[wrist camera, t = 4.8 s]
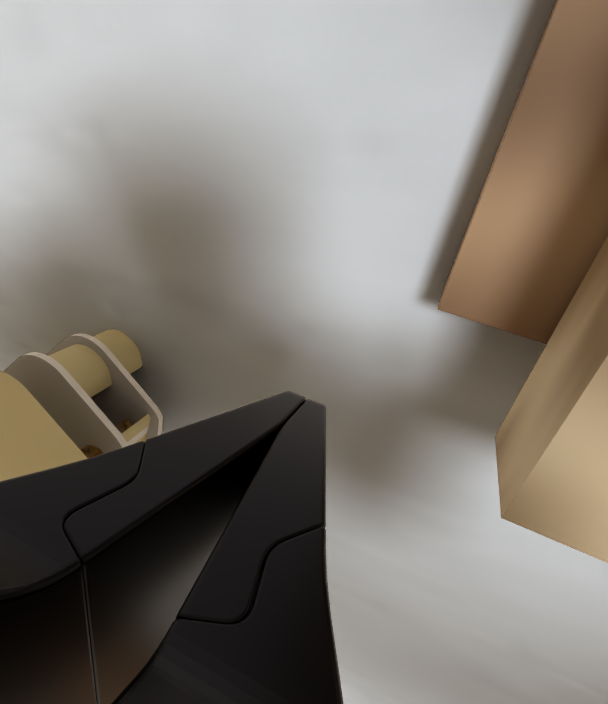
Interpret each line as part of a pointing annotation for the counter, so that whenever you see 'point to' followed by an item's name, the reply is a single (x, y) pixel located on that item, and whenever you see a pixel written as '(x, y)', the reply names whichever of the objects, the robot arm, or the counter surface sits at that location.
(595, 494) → the oak leg
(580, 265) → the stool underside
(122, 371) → the stacked layers on plate
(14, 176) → the counter surface
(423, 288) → the counter surface
